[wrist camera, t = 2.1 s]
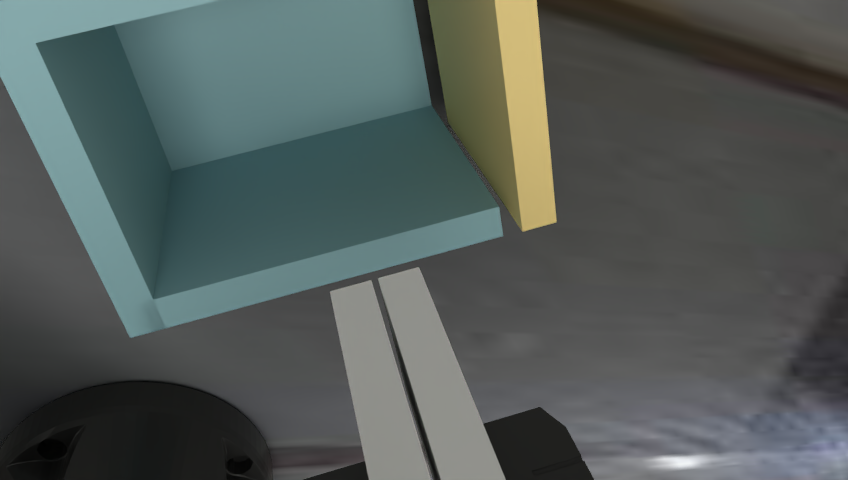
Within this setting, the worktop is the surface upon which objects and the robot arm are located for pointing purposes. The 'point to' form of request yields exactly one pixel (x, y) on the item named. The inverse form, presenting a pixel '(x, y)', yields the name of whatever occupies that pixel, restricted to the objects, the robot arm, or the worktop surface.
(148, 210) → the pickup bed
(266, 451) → the robot arm
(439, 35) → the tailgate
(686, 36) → the worktop surface
